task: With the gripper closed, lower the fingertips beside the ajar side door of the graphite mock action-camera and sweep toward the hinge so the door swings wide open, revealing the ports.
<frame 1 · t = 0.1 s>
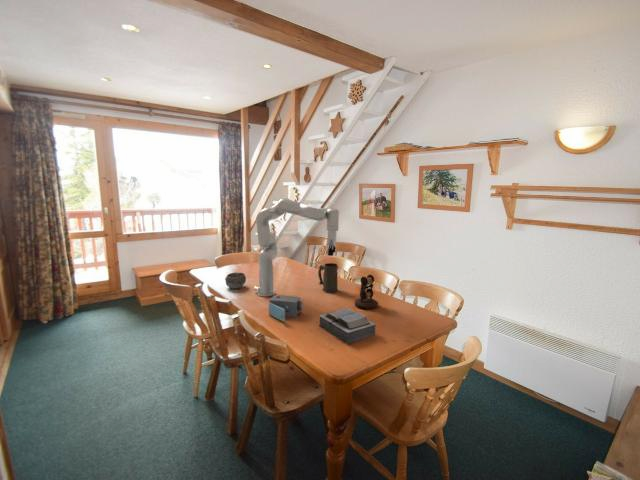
hand: (331, 254, 206), 31 cm above the table, fingers open, 9 cm apart
side door: (275, 312, 178), point 4 cm above the table, hinge at 35.0°
grey stacked slabs: (346, 331, 166), on the table
brown figurine: (366, 306, 202), on the table
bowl: (235, 288, 230), on the table
beer stein: (327, 290, 230), on the table
camera body: (285, 312, 187), on the table
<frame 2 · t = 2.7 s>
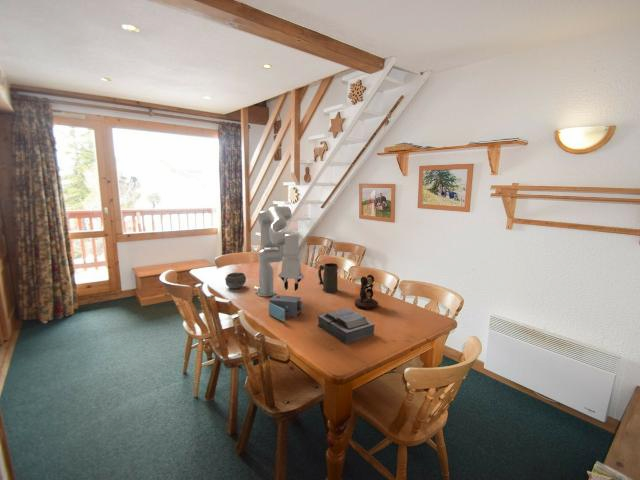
hand: (291, 289, 171), 19 cm above the table, fingers open, 4 cm apart
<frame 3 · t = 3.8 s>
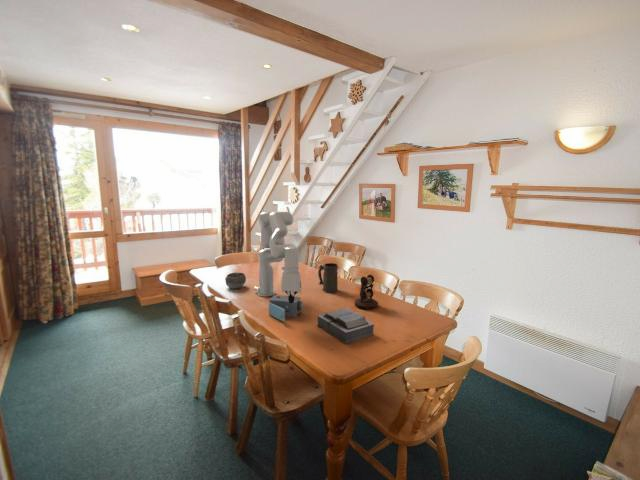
hand: (291, 302, 172), 12 cm above the table, fingers closed
nothing on the table moved.
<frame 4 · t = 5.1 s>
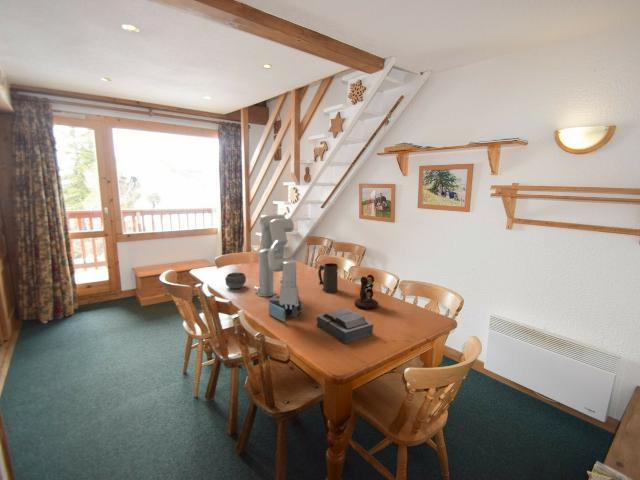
hand: (289, 315, 173), 4 cm above the table, fingers closed
side door: (275, 312, 178), point 4 cm above the table, hinge at 35.1°, touching gripper
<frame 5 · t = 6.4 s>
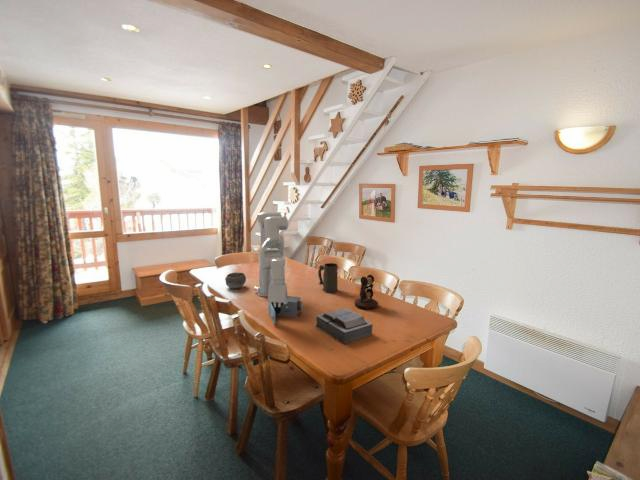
hand: (277, 313, 174), 5 cm above the table, fingers closed
side door: (271, 313, 177), point 4 cm above the table, hinge at 60.5°, touching gripper
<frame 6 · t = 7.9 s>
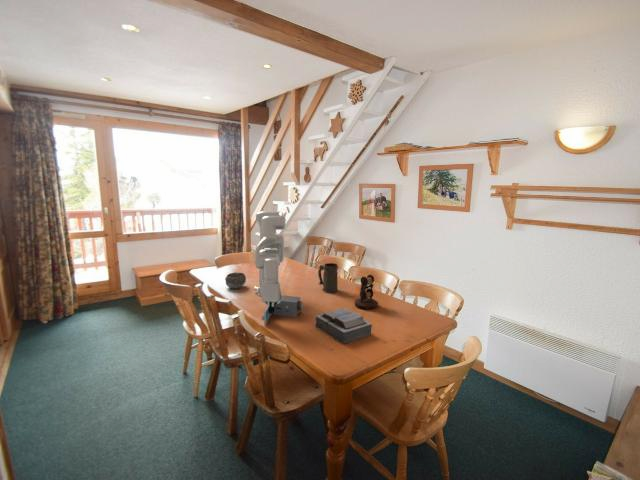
hand: (271, 312, 174), 5 cm above the table, fingers closed
side door: (266, 313, 176), point 4 cm above the table, hinge at 82.3°, touching gripper
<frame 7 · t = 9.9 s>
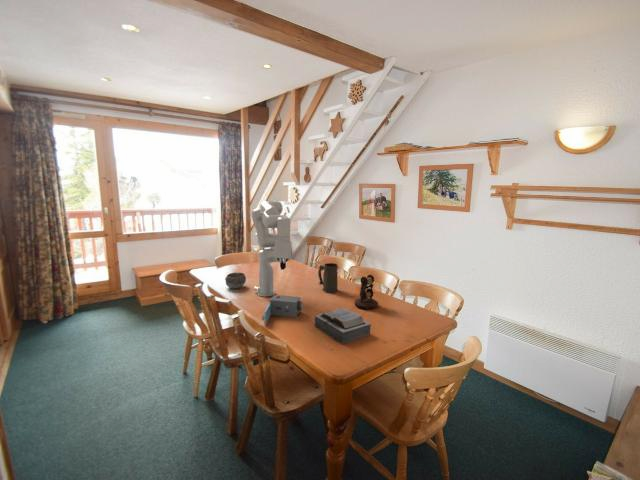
hand: (282, 268, 185), 26 cm above the table, fingers closed
side door: (266, 313, 176), point 4 cm above the table, hinge at 82.3°
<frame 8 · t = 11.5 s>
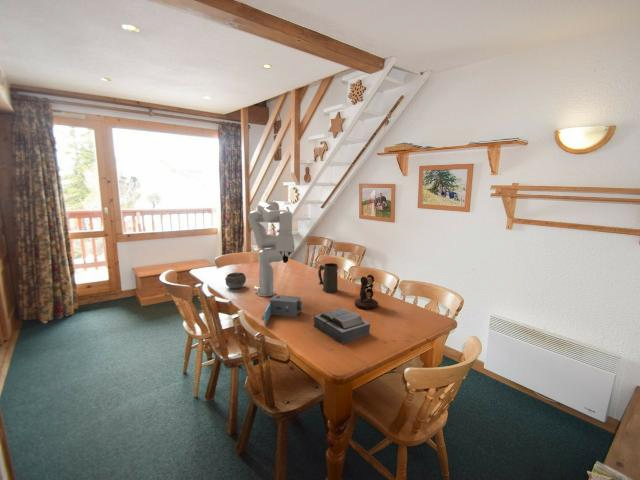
hand: (285, 262, 189), 29 cm above the table, fingers closed
at the end: side door at +82° (first picture: +35°) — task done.
